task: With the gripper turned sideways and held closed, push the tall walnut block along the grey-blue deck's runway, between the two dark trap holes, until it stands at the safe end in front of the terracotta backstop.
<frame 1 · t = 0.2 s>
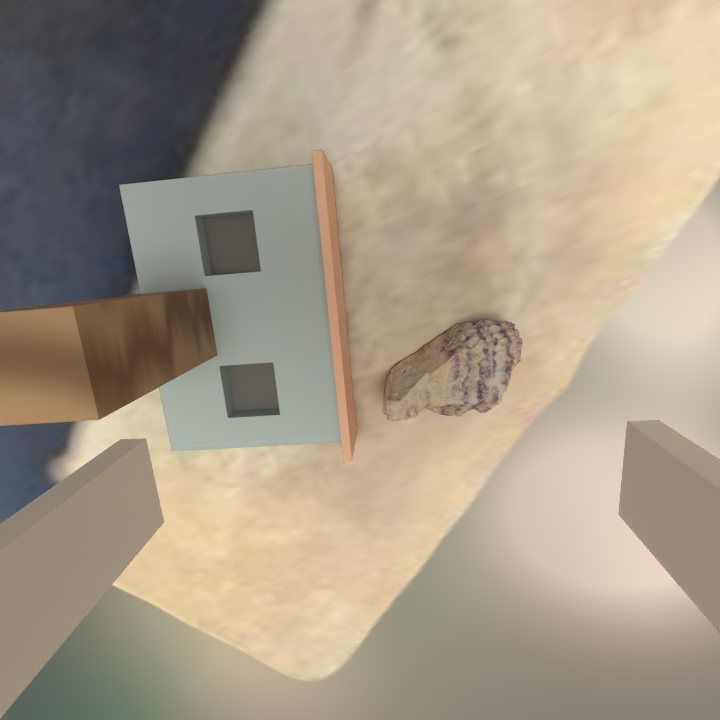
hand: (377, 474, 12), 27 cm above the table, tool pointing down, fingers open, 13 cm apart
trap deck: (241, 317, 39), on the table
walnut block: (179, 324, 37), point 2 cm above the table, touching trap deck
mineral specimen: (450, 365, 39), on the table
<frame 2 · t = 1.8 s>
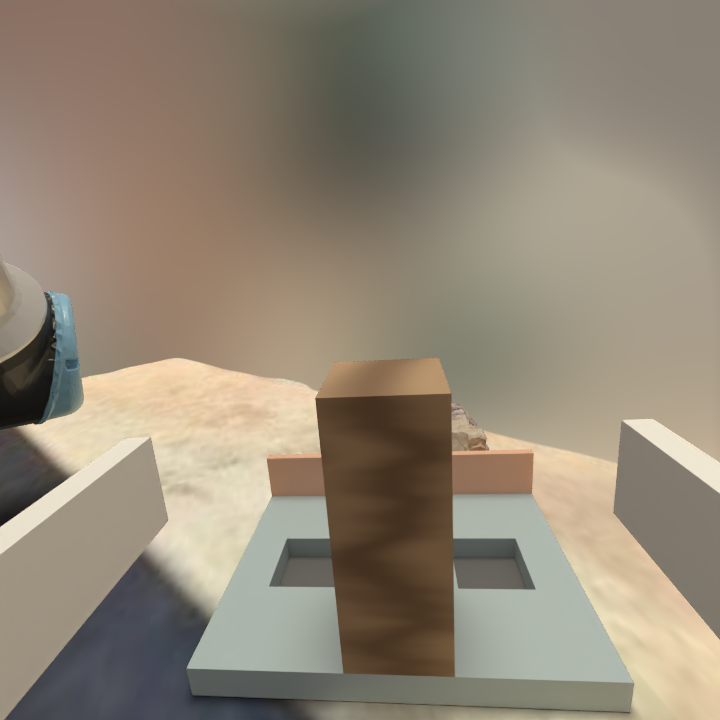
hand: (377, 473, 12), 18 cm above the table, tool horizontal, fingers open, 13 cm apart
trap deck: (399, 589, 31), on the table
walnut block: (398, 626, 26), point 2 cm above the table, touching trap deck
mineral specimen: (449, 463, 49), on the table
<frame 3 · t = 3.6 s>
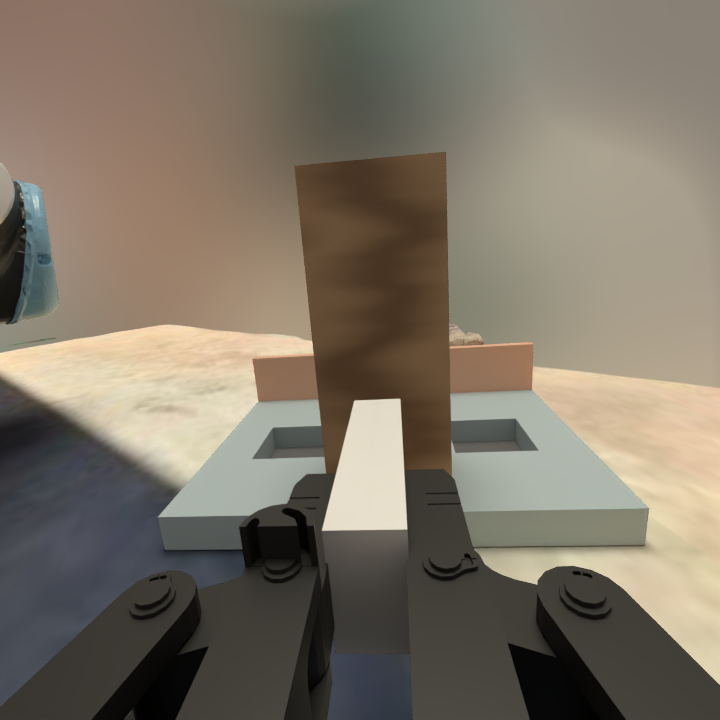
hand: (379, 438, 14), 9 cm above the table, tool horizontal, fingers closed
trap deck: (392, 467, 29), on the table
walnut block: (390, 480, 24), point 2 cm above the table, touching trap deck
mineral specimen: (445, 383, 47), on the table
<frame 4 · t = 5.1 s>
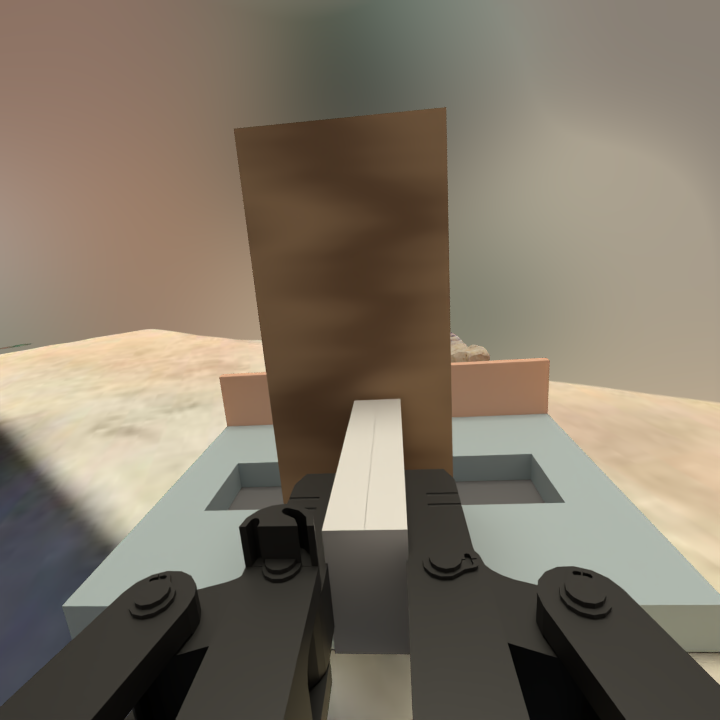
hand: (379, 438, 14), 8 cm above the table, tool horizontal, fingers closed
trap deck: (381, 517, 23), on the table
walnut block: (376, 538, 19), point 2 cm above the table, touching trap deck
mineral specimen: (444, 401, 41), on the table
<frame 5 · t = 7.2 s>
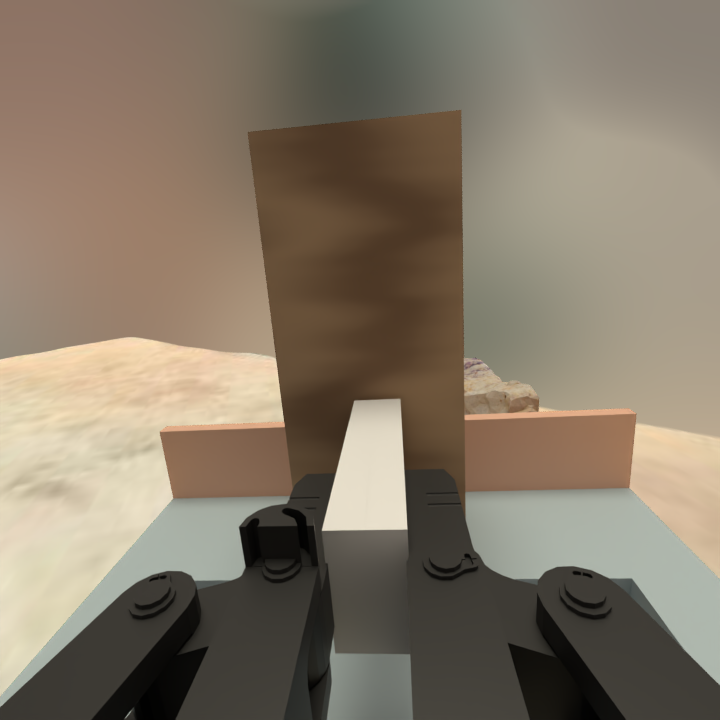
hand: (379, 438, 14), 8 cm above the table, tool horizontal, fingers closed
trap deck: (392, 697, 14), on the table
walnut block: (386, 541, 19), point 2 cm above the table, touching gripper, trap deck
mineral specimen: (467, 448, 32), on the table
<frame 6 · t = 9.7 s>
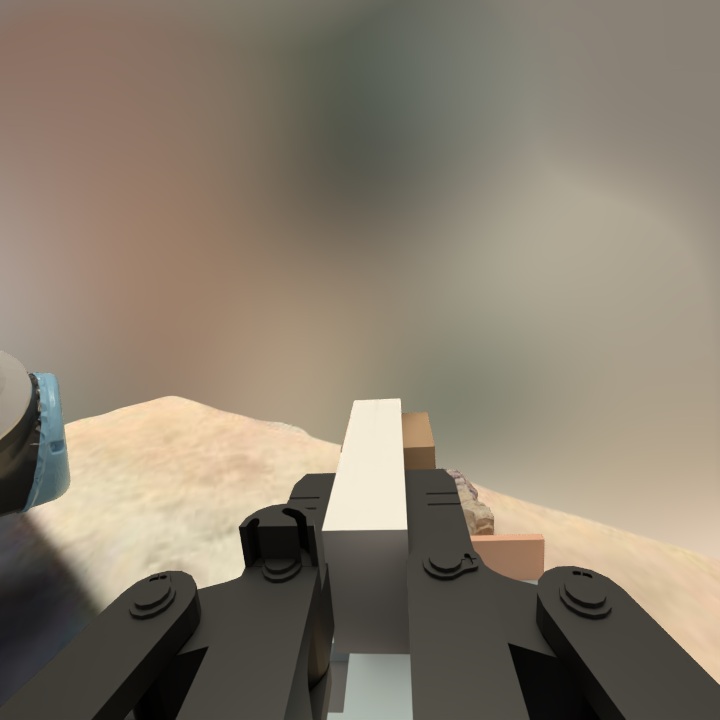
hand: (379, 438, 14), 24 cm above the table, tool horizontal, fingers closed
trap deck: (407, 705, 29), on the table
walnut block: (401, 616, 33), point 2 cm above the table, touching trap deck
mineral specimen: (451, 535, 46), on the table
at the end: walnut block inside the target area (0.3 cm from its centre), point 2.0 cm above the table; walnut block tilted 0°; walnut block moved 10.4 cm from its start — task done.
